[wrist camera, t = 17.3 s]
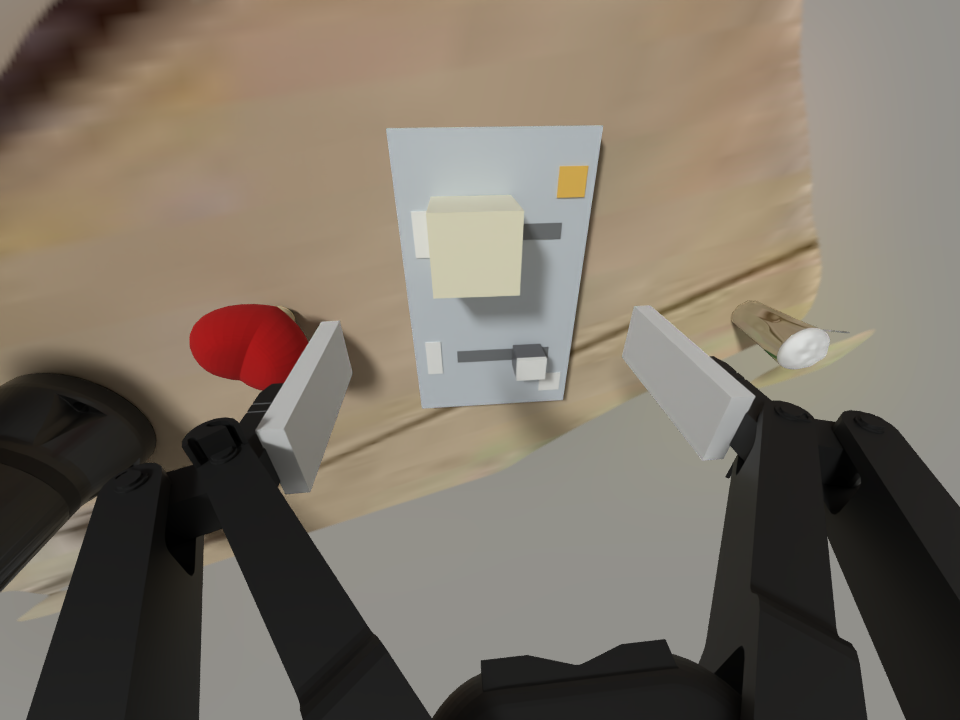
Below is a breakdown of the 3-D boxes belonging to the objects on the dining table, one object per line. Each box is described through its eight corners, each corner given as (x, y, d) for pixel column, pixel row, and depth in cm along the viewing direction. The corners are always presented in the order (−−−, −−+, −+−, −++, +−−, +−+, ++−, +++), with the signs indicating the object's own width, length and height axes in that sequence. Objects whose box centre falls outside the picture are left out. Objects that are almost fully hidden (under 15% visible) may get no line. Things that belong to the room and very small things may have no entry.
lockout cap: (436, 269, 34) (433, 298, 28) (430, 196, 30) (425, 213, 25) (508, 267, 34) (519, 295, 29) (510, 194, 31) (524, 210, 25)
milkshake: (779, 295, 41) (865, 339, 32) (745, 334, 43) (817, 385, 35) (750, 282, 40) (831, 325, 31) (717, 324, 42) (784, 373, 34)
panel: (422, 397, 45) (422, 409, 43) (389, 128, 29) (385, 128, 28) (558, 389, 46) (563, 400, 44) (594, 125, 30) (604, 125, 29)
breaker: (511, 364, 40) (516, 380, 38) (512, 345, 39) (517, 360, 36) (538, 362, 40) (544, 379, 38) (540, 343, 39) (547, 359, 37)
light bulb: (340, 306, 37) (310, 358, 29) (319, 357, 40) (287, 418, 32) (242, 263, 34) (177, 309, 26) (228, 322, 37) (166, 379, 29)
